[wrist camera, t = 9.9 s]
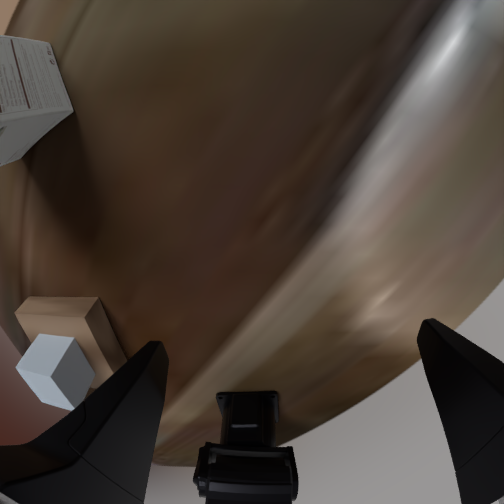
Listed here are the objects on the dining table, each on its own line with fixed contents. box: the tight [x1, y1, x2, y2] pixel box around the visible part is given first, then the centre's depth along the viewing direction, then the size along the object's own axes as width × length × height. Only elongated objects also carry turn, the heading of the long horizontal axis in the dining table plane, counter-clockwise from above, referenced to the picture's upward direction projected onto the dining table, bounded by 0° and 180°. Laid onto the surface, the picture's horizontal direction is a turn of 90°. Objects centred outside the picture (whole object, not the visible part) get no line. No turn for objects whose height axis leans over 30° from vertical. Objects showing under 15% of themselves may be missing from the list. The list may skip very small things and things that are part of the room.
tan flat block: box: [15, 296, 127, 388], centre depth 24 cm, size 10×10×3 cm
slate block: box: [16, 334, 96, 411], centre depth 21 cm, size 5×5×5 cm
